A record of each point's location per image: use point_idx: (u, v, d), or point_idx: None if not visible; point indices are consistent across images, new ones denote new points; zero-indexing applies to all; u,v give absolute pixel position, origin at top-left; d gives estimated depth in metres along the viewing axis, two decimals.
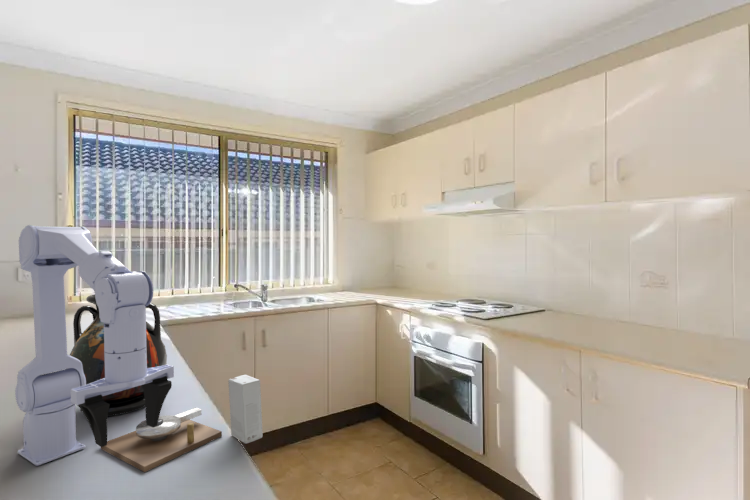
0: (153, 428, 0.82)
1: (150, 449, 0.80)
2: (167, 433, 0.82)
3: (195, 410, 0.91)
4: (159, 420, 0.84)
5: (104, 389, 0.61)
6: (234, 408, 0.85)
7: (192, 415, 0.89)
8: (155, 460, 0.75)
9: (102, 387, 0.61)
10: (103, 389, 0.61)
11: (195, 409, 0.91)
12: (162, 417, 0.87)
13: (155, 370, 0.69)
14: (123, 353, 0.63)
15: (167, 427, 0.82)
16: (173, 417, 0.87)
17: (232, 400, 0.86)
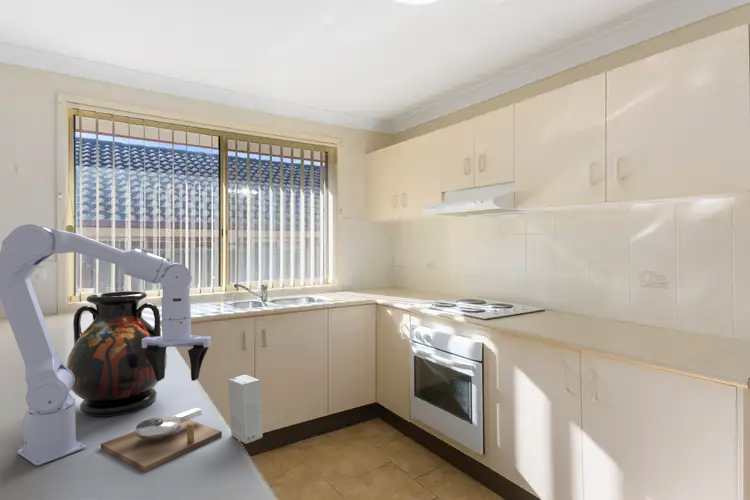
0: (153, 428, 0.82)
1: (150, 449, 0.80)
2: (167, 433, 0.82)
3: (195, 410, 0.91)
4: (159, 420, 0.84)
5: (154, 342, 0.90)
6: (234, 408, 0.85)
7: (192, 415, 0.89)
8: (155, 460, 0.75)
9: (153, 340, 0.90)
10: (154, 341, 0.90)
11: (195, 409, 0.91)
12: (162, 417, 0.87)
13: (196, 338, 0.91)
14: (163, 320, 0.89)
15: (167, 427, 0.82)
16: (173, 417, 0.87)
17: (232, 400, 0.86)
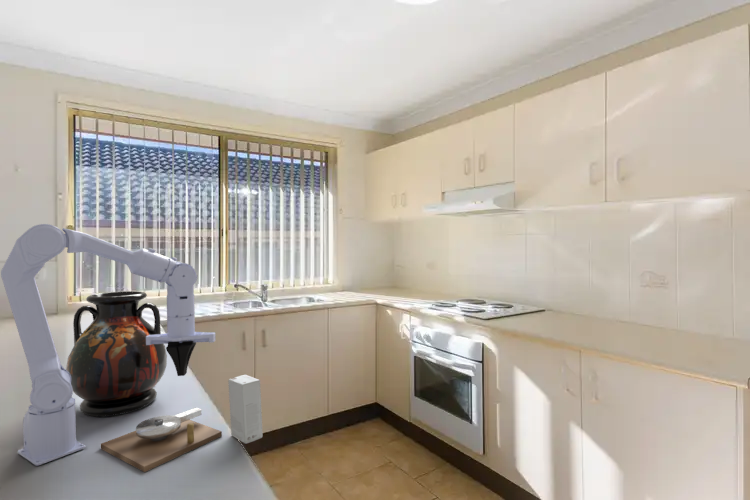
0: (153, 428, 0.82)
1: (150, 449, 0.80)
2: (167, 433, 0.82)
3: (195, 410, 0.91)
4: (159, 420, 0.84)
5: (160, 339, 0.93)
6: (234, 408, 0.85)
7: (192, 415, 0.89)
8: (155, 460, 0.75)
9: (159, 337, 0.93)
10: (159, 338, 0.93)
11: (195, 409, 0.91)
12: (162, 417, 0.87)
13: (201, 334, 0.95)
14: (170, 317, 0.92)
15: (167, 427, 0.82)
16: (173, 417, 0.87)
17: (232, 400, 0.86)
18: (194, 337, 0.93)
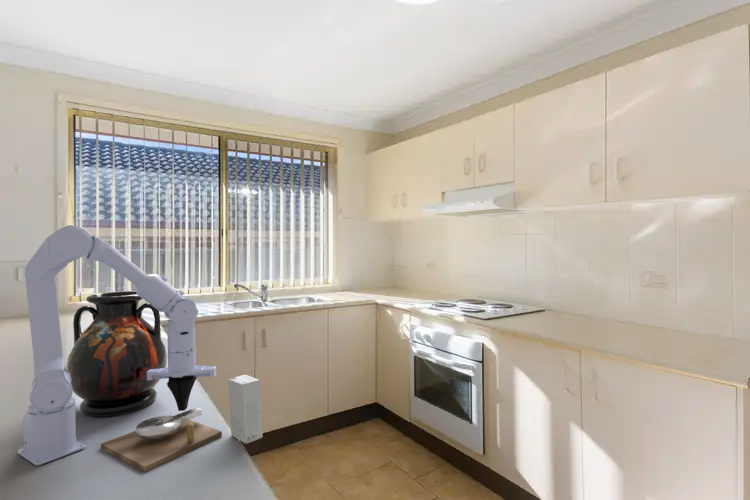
0: (153, 428, 0.82)
1: (150, 449, 0.80)
2: (167, 433, 0.82)
3: (195, 410, 0.91)
4: (159, 420, 0.84)
5: (160, 374, 0.93)
6: (234, 408, 0.85)
7: (192, 415, 0.89)
8: (155, 460, 0.75)
9: (159, 372, 0.93)
10: (160, 374, 0.93)
11: (195, 409, 0.91)
12: (162, 417, 0.87)
13: (202, 369, 0.95)
14: (170, 353, 0.92)
15: (167, 427, 0.82)
16: (173, 417, 0.87)
17: (232, 400, 0.86)
18: (195, 372, 0.93)
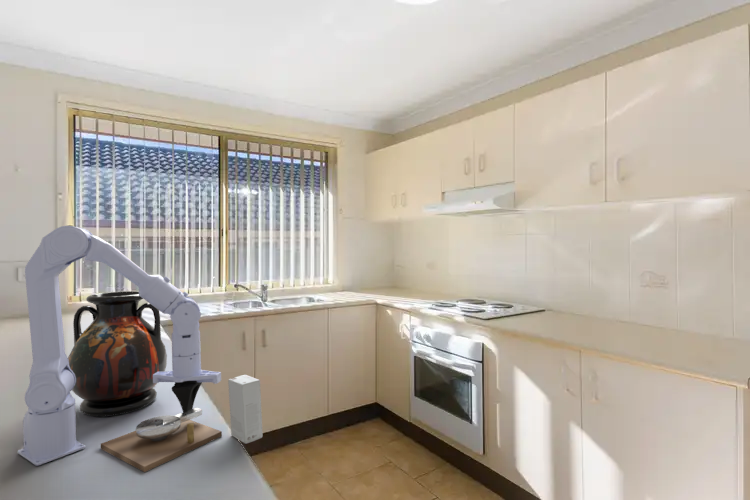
0: (153, 428, 0.82)
1: (150, 449, 0.80)
2: (167, 433, 0.82)
3: (195, 410, 0.91)
4: (159, 420, 0.84)
5: (165, 378, 0.90)
6: (234, 408, 0.85)
7: (192, 415, 0.89)
8: (155, 460, 0.75)
9: (164, 376, 0.90)
10: (164, 377, 0.90)
11: (195, 409, 0.91)
12: (162, 417, 0.87)
13: (206, 374, 0.91)
14: (173, 356, 0.89)
15: (166, 427, 0.82)
16: (173, 417, 0.87)
17: (232, 400, 0.86)
18: (197, 378, 0.89)
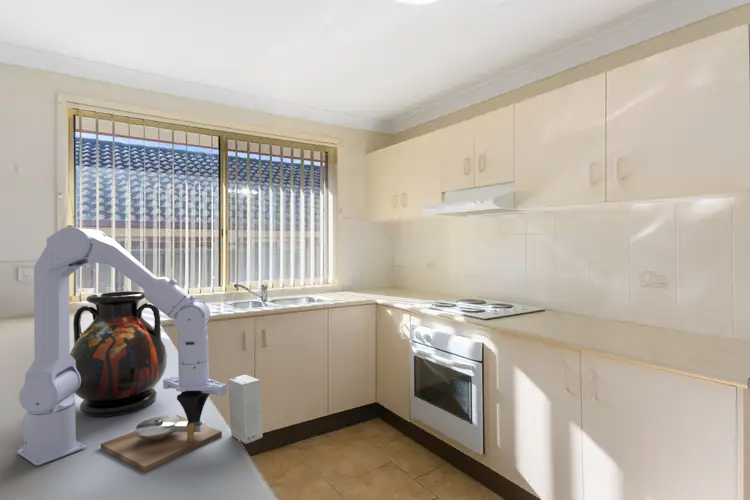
0: (146, 426, 0.83)
1: (150, 449, 0.80)
2: (144, 436, 0.80)
3: (196, 424, 0.84)
4: (159, 420, 0.84)
5: (172, 384, 0.86)
6: (234, 408, 0.85)
7: None
8: (155, 460, 0.75)
9: (171, 382, 0.86)
10: (172, 384, 0.86)
11: (199, 423, 0.84)
12: (174, 418, 0.86)
13: (210, 385, 0.84)
14: (178, 363, 0.84)
15: (149, 430, 0.81)
16: (175, 423, 0.84)
17: (232, 400, 0.86)
18: (200, 388, 0.83)
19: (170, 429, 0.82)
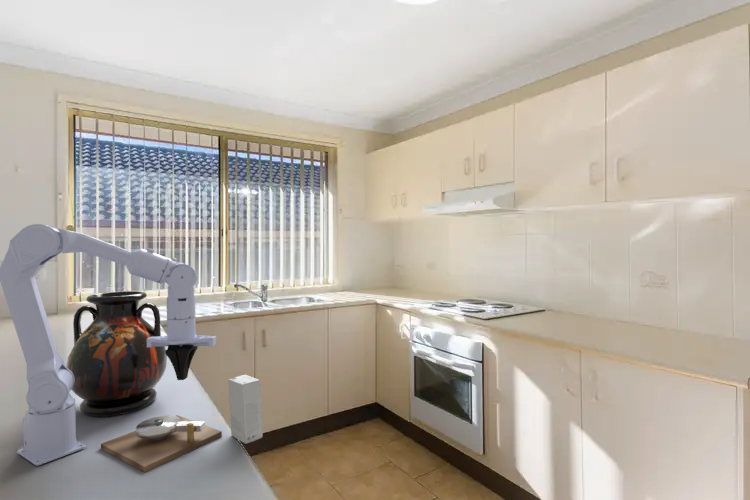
0: (146, 426, 0.83)
1: (150, 449, 0.80)
2: (145, 436, 0.80)
3: (196, 424, 0.84)
4: (159, 420, 0.84)
5: (159, 341, 0.90)
6: (234, 408, 0.85)
7: None
8: (155, 460, 0.75)
9: (158, 339, 0.90)
10: (159, 341, 0.90)
11: (199, 423, 0.84)
12: (174, 418, 0.86)
13: (201, 338, 0.92)
14: (169, 319, 0.90)
15: (149, 430, 0.81)
16: (175, 423, 0.84)
17: (232, 400, 0.86)
18: (193, 341, 0.90)
19: (170, 429, 0.82)
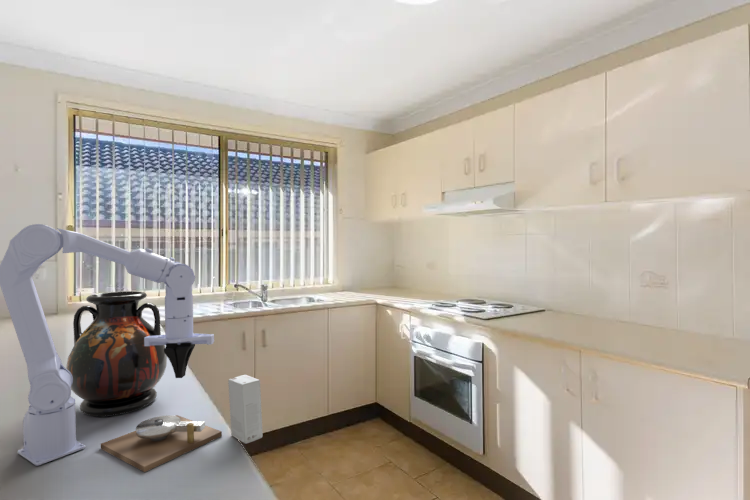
0: (146, 426, 0.83)
1: (150, 449, 0.80)
2: (145, 436, 0.80)
3: (196, 424, 0.84)
4: (159, 420, 0.84)
5: (157, 340, 0.91)
6: (234, 408, 0.85)
7: None
8: (155, 460, 0.75)
9: (156, 338, 0.91)
10: (157, 340, 0.91)
11: (199, 423, 0.84)
12: (174, 418, 0.86)
13: (199, 336, 0.93)
14: (167, 318, 0.91)
15: (149, 430, 0.81)
16: (175, 423, 0.84)
17: (232, 400, 0.86)
18: (192, 339, 0.92)
19: (170, 429, 0.82)
